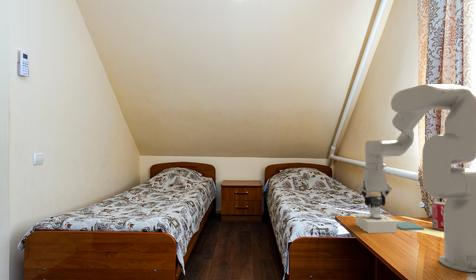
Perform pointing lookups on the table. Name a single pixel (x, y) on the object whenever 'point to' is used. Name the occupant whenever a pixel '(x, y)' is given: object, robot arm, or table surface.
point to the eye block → (376, 224)
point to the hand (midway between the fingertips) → (374, 204)
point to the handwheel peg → (375, 207)
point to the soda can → (438, 215)
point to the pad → (408, 226)
